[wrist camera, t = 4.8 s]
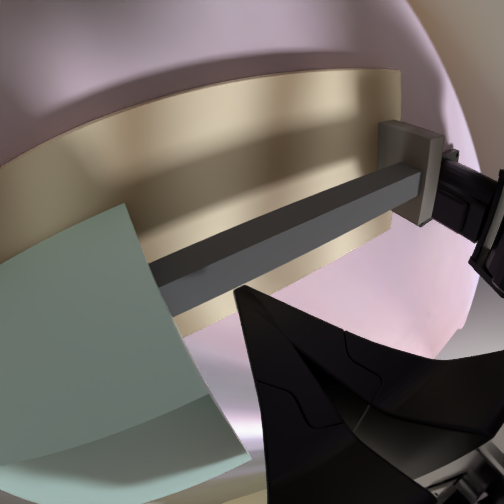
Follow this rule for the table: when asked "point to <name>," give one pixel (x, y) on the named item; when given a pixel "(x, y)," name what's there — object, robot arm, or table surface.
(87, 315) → the pale teal block
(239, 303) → the robot arm
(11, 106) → the table surface
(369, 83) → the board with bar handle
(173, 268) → the long grey square rod
